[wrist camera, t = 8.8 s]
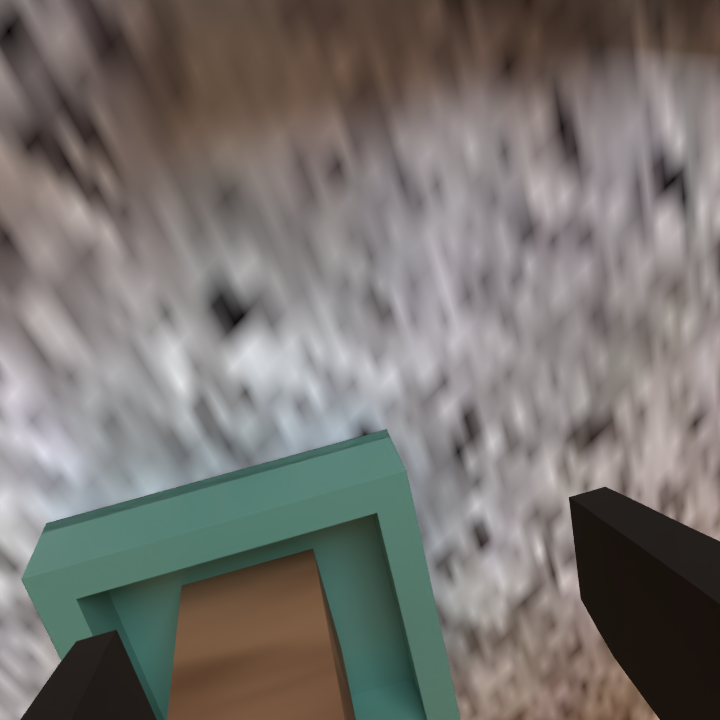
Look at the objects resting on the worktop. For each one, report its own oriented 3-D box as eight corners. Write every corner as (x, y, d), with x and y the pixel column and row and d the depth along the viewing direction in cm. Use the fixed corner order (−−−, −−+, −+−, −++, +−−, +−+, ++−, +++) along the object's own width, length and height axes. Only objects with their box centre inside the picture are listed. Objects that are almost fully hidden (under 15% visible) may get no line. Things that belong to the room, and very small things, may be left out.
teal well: (442, 679, 24) (464, 740, 22) (158, 767, 23) (150, 840, 21) (386, 429, 20) (406, 470, 18) (46, 523, 19) (21, 579, 17)
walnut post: (341, 648, 22) (386, 872, 16) (219, 685, 22) (213, 929, 15) (312, 548, 21) (350, 748, 14) (181, 585, 20) (157, 808, 14)
